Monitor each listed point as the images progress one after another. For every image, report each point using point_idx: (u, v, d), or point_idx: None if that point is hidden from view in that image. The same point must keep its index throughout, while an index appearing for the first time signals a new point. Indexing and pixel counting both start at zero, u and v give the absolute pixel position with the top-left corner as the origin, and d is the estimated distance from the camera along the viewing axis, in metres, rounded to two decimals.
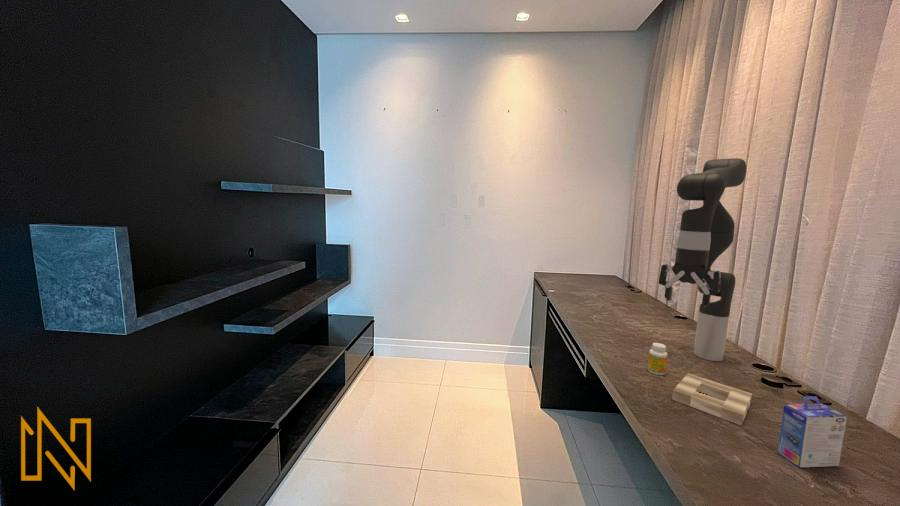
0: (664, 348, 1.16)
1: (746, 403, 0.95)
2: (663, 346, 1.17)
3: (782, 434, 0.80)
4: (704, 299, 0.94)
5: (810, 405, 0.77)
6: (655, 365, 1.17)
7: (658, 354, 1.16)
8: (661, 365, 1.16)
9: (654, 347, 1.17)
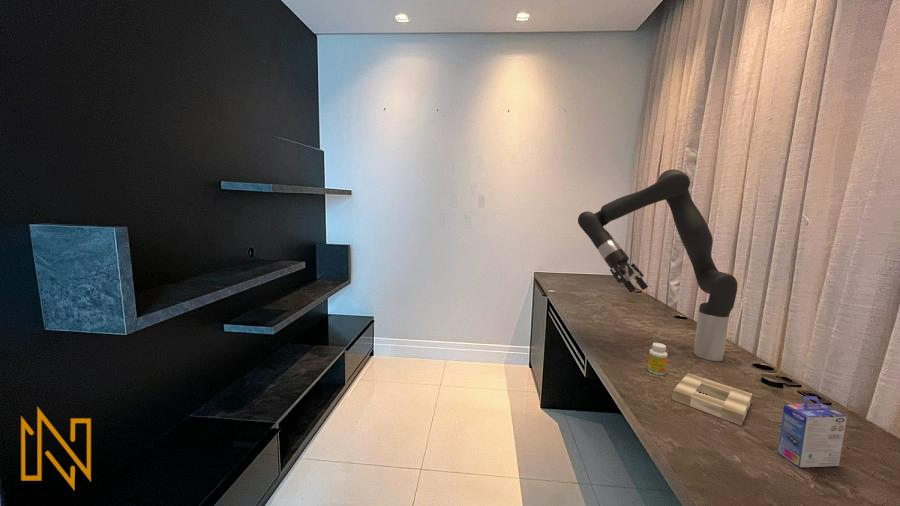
0: (664, 348, 1.16)
1: (746, 403, 0.95)
2: (663, 346, 1.17)
3: (782, 434, 0.80)
4: None
5: (810, 405, 0.77)
6: (655, 365, 1.17)
7: (658, 354, 1.16)
8: (661, 365, 1.16)
9: (654, 347, 1.17)
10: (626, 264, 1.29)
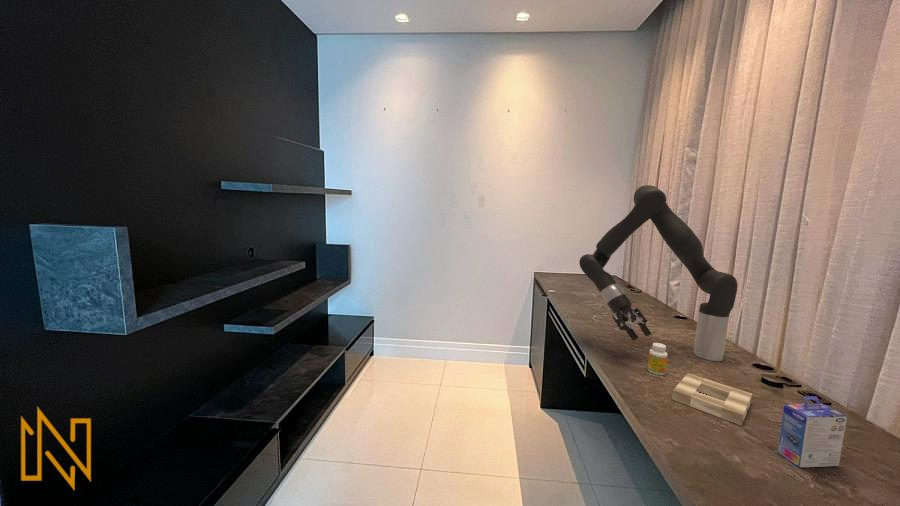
0: (664, 348, 1.16)
1: (746, 403, 0.95)
2: (663, 346, 1.17)
3: (782, 434, 0.80)
4: None
5: (810, 405, 0.77)
6: (655, 365, 1.17)
7: (658, 354, 1.16)
8: (661, 365, 1.16)
9: (654, 347, 1.17)
10: (629, 309, 1.28)
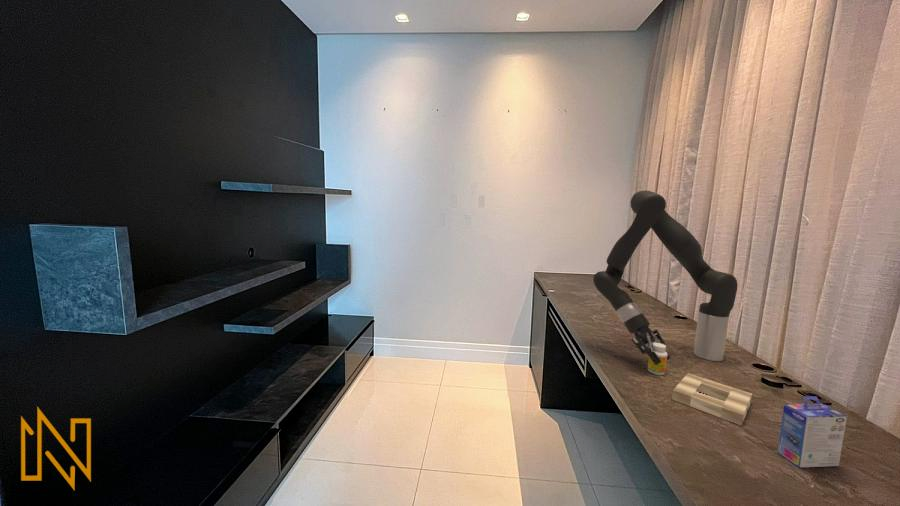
0: (664, 348, 1.16)
1: (746, 403, 0.95)
2: (663, 346, 1.17)
3: (782, 434, 0.80)
4: None
5: (810, 405, 0.77)
6: (655, 365, 1.17)
7: (658, 354, 1.16)
8: (661, 365, 1.16)
9: (654, 347, 1.17)
10: (647, 330, 1.22)
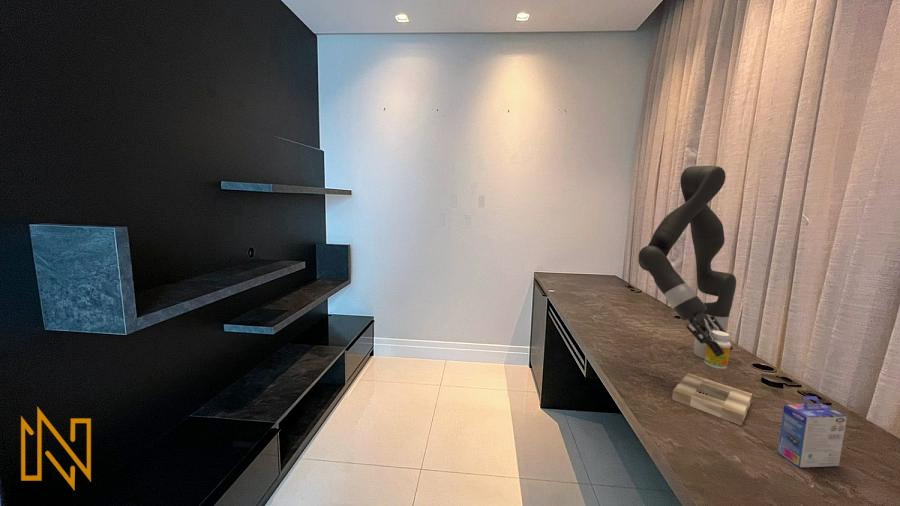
0: (728, 336, 0.97)
1: (746, 403, 0.95)
2: (726, 334, 0.97)
3: (782, 434, 0.80)
4: None
5: (810, 405, 0.77)
6: (716, 357, 0.97)
7: (720, 344, 0.97)
8: (724, 357, 0.97)
9: (714, 335, 0.98)
10: (703, 315, 1.03)
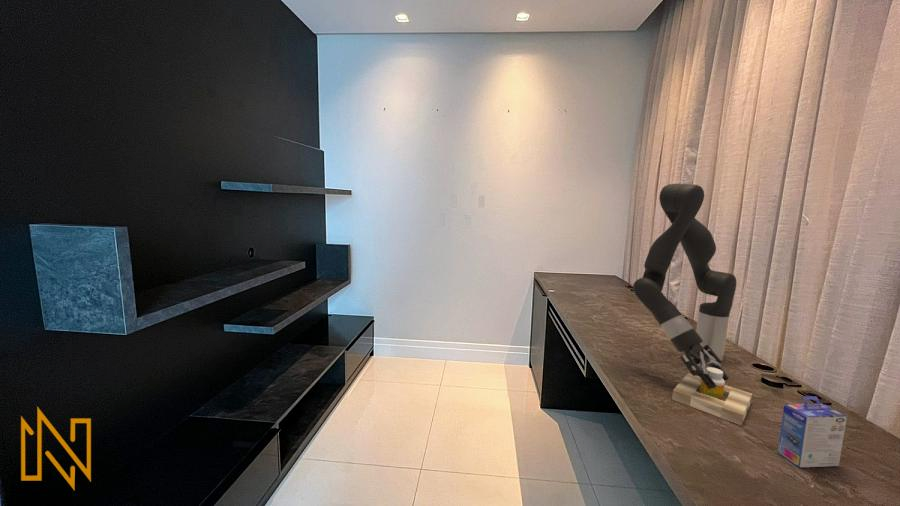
0: (721, 374, 0.98)
1: (746, 403, 0.95)
2: (720, 372, 0.99)
3: (782, 434, 0.80)
4: None
5: (810, 405, 0.77)
6: (710, 394, 0.99)
7: (714, 381, 0.98)
8: (718, 395, 0.98)
9: (709, 373, 1.00)
10: (699, 348, 1.05)
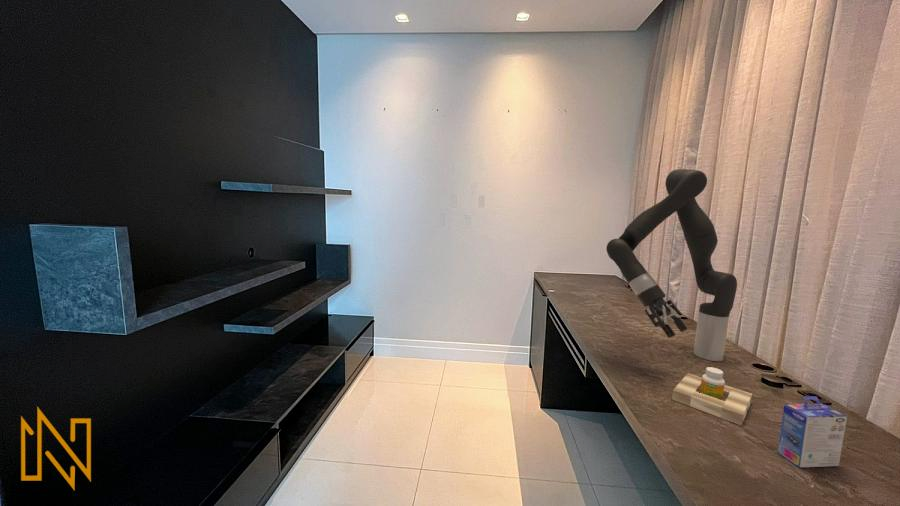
0: (722, 374, 0.98)
1: (746, 403, 0.95)
2: (720, 372, 0.99)
3: (782, 434, 0.80)
4: None
5: (810, 405, 0.77)
6: (710, 394, 0.99)
7: (714, 381, 0.98)
8: (718, 395, 0.98)
9: (709, 373, 1.00)
10: (662, 302, 1.14)
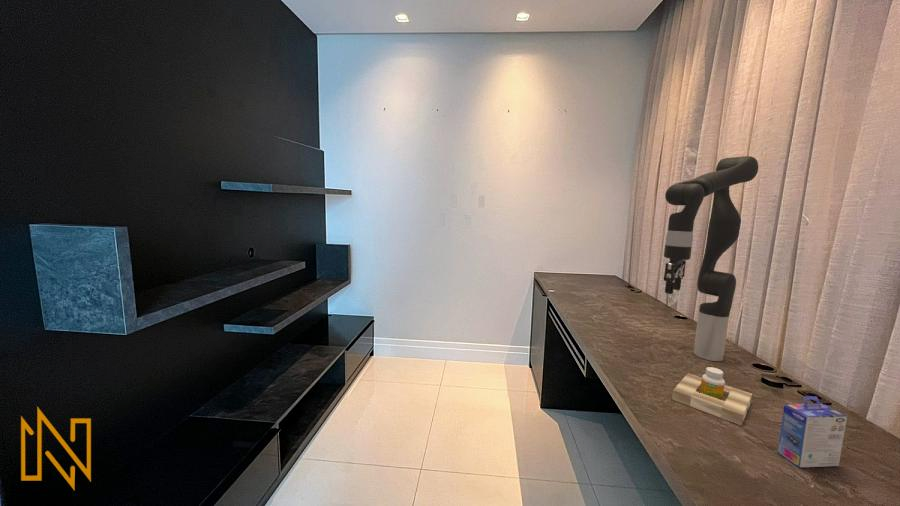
0: (722, 374, 0.98)
1: (746, 403, 0.95)
2: (720, 372, 0.99)
3: (782, 434, 0.80)
4: None
5: (810, 405, 0.77)
6: (710, 394, 0.99)
7: (714, 381, 0.98)
8: (718, 395, 0.98)
9: (709, 373, 1.00)
10: (681, 261, 1.16)
